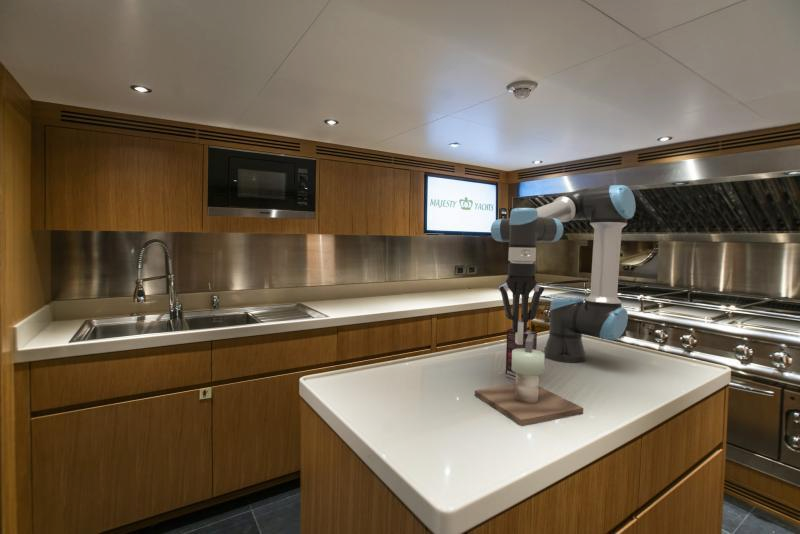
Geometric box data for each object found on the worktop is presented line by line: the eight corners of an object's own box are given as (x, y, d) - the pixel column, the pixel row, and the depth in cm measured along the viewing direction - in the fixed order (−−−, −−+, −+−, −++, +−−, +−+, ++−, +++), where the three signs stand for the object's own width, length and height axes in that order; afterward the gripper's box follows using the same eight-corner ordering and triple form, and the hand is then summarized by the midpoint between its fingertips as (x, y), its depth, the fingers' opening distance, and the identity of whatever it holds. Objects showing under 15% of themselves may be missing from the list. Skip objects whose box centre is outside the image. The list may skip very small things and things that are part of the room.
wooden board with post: (474, 395, 113) (475, 364, 112) (530, 386, 120) (531, 357, 120) (521, 425, 94) (522, 389, 94) (583, 413, 102) (584, 379, 101)
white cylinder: (543, 377, 101) (544, 347, 101) (509, 372, 104) (510, 343, 104) (545, 362, 114) (546, 335, 114) (515, 358, 117) (516, 332, 117)
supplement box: (536, 381, 125) (538, 332, 124) (526, 384, 123) (528, 333, 122) (514, 373, 132) (515, 327, 131) (504, 376, 130) (506, 328, 129)
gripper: (502, 262, 109) (499, 346, 111) (549, 263, 109) (546, 347, 110) (496, 261, 117) (493, 339, 118) (540, 262, 116) (537, 340, 118)
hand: (518, 343), depth 114 cm, fingers closed
